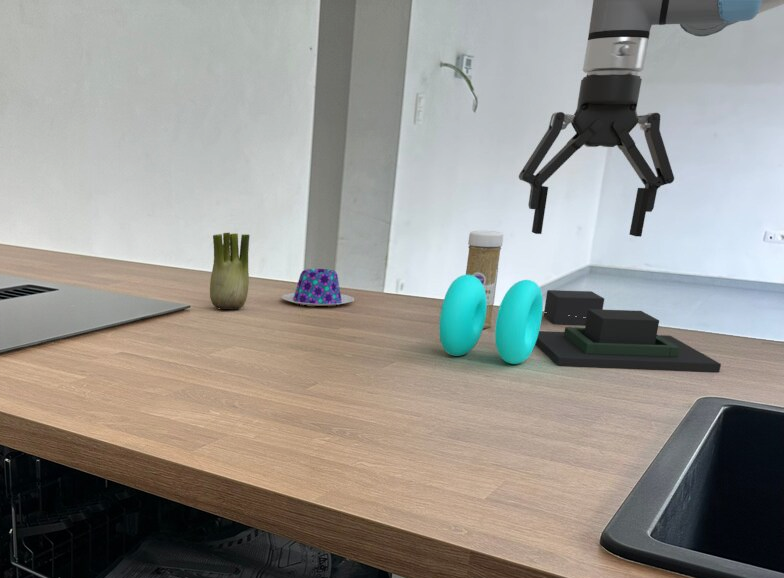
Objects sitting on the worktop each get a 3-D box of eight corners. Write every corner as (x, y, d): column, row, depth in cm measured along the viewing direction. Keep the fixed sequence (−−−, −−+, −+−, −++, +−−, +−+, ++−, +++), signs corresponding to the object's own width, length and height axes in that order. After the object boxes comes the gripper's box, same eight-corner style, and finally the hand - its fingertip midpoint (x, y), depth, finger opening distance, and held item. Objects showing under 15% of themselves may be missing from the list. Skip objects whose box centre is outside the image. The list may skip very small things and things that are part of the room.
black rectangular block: (635, 341, 111) (641, 310, 110) (653, 352, 105) (659, 320, 104) (582, 339, 112) (587, 309, 111) (597, 350, 106) (602, 318, 105)
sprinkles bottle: (459, 328, 124) (470, 232, 119) (458, 322, 128) (469, 229, 123) (492, 330, 123) (505, 233, 118) (491, 324, 127) (502, 230, 122)
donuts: (459, 346, 113) (468, 269, 109) (538, 357, 107) (550, 276, 104) (431, 361, 105) (440, 278, 102) (515, 373, 99) (527, 286, 96)
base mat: (668, 342, 115) (672, 326, 115) (719, 372, 100) (723, 353, 100) (528, 337, 118) (531, 321, 117) (557, 365, 103) (560, 347, 102)
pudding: (365, 307, 139) (367, 275, 137) (294, 310, 137) (295, 276, 135) (339, 295, 150) (340, 265, 148) (272, 297, 148) (274, 266, 146)
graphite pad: (587, 317, 132) (591, 291, 131) (600, 325, 126) (604, 298, 125) (543, 315, 133) (547, 290, 132) (553, 324, 127) (557, 297, 126)
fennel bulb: (248, 307, 139) (251, 231, 135) (244, 313, 134) (246, 234, 130) (213, 305, 140) (215, 230, 136) (207, 311, 136) (208, 233, 132)
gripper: (522, 72, 115) (501, 234, 122) (722, 72, 112) (687, 239, 119) (511, 76, 122) (491, 229, 129) (698, 76, 119) (667, 234, 126)
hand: (585, 234), depth 124 cm, fingers open, 13 cm apart
